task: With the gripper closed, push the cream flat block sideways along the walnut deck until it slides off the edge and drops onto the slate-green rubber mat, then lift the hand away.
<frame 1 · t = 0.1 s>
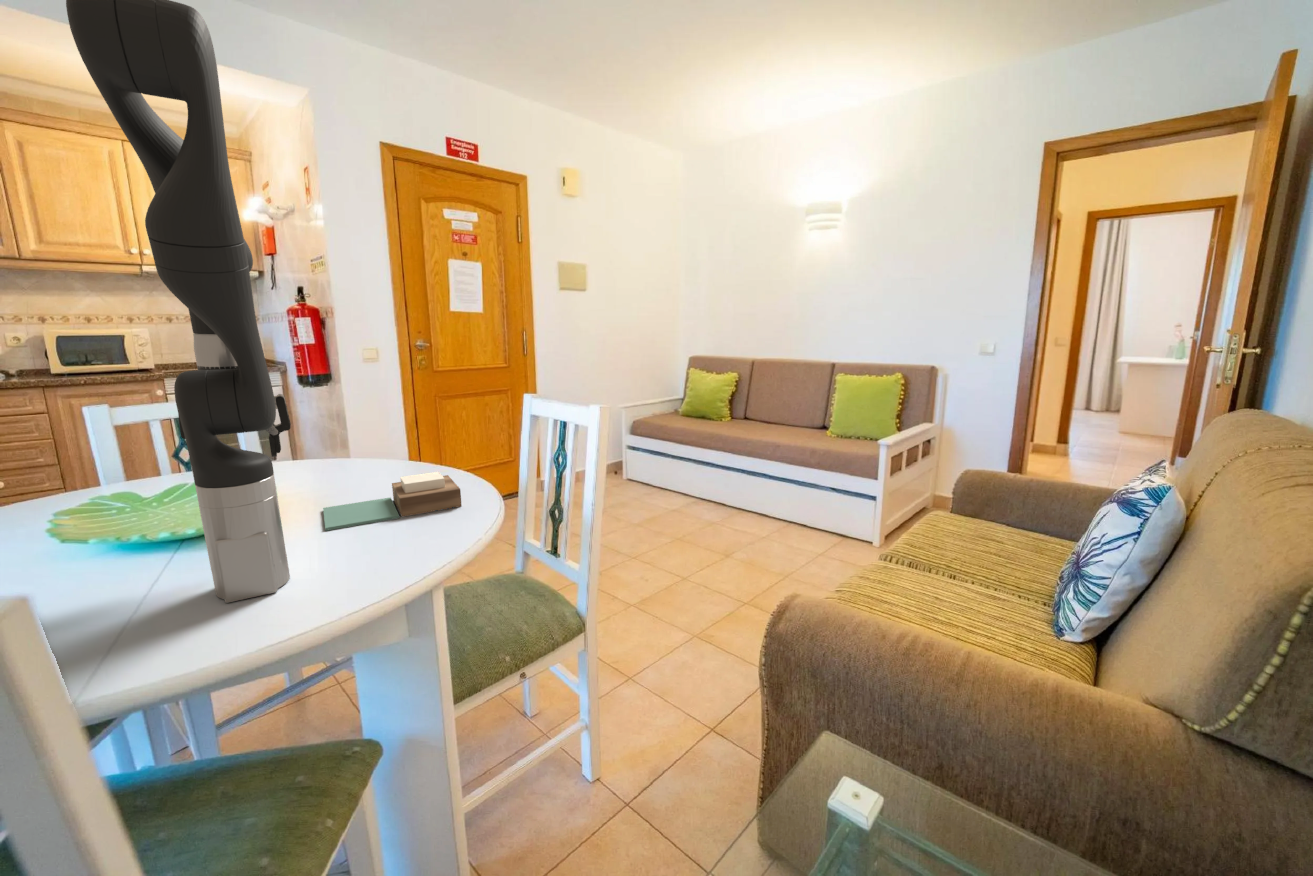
hand: (243, 458, 90), 17 cm above the table, tool pointing down, fingers open, 8 cm apart
cream flat block: (423, 486, 117), point 4 cm above the table, touching deck
deck: (427, 503, 119), on the table
mat: (360, 514, 112), on the table
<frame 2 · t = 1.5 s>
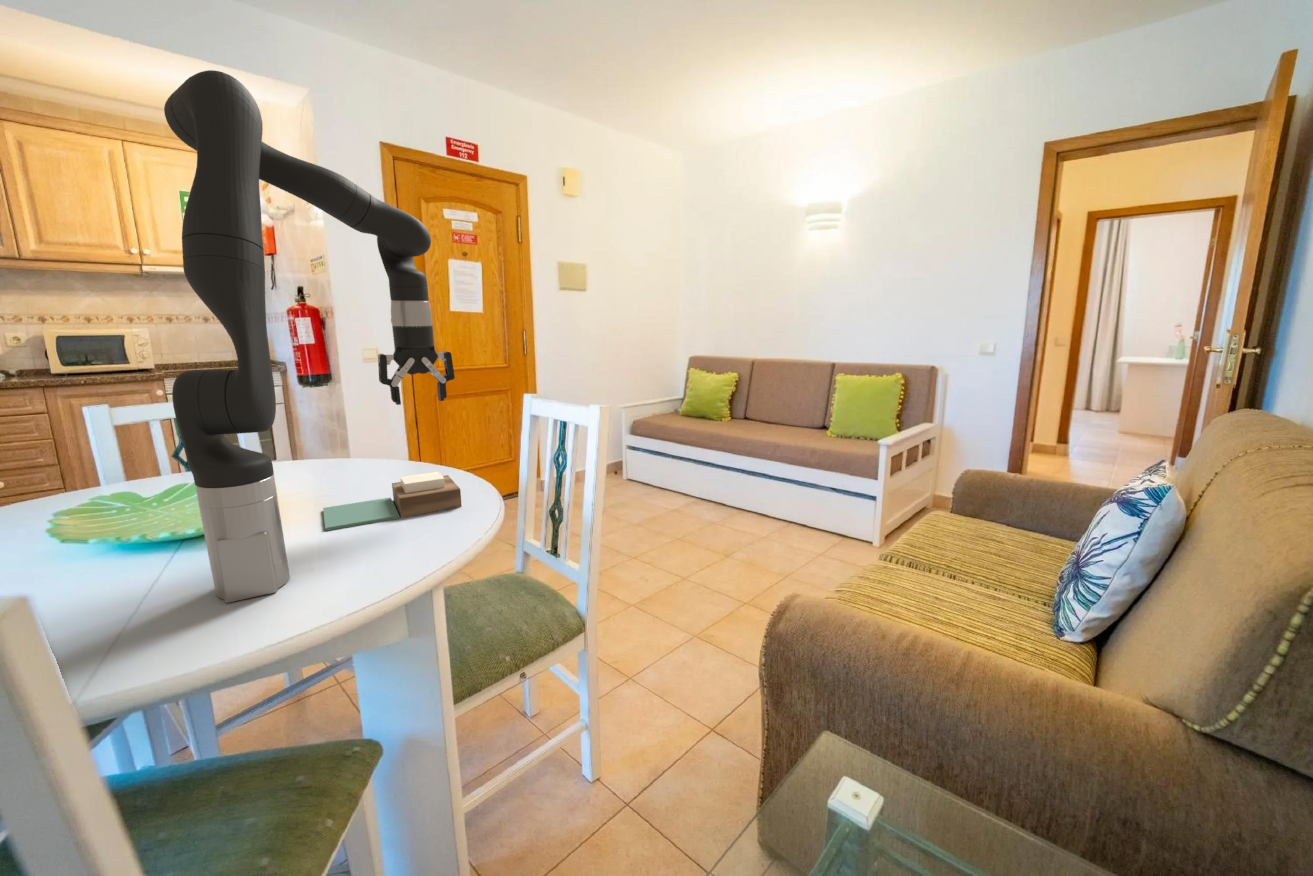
hand: (420, 402, 113), 23 cm above the table, tool pointing down, fingers open, 8 cm apart
nothing on the table moved.
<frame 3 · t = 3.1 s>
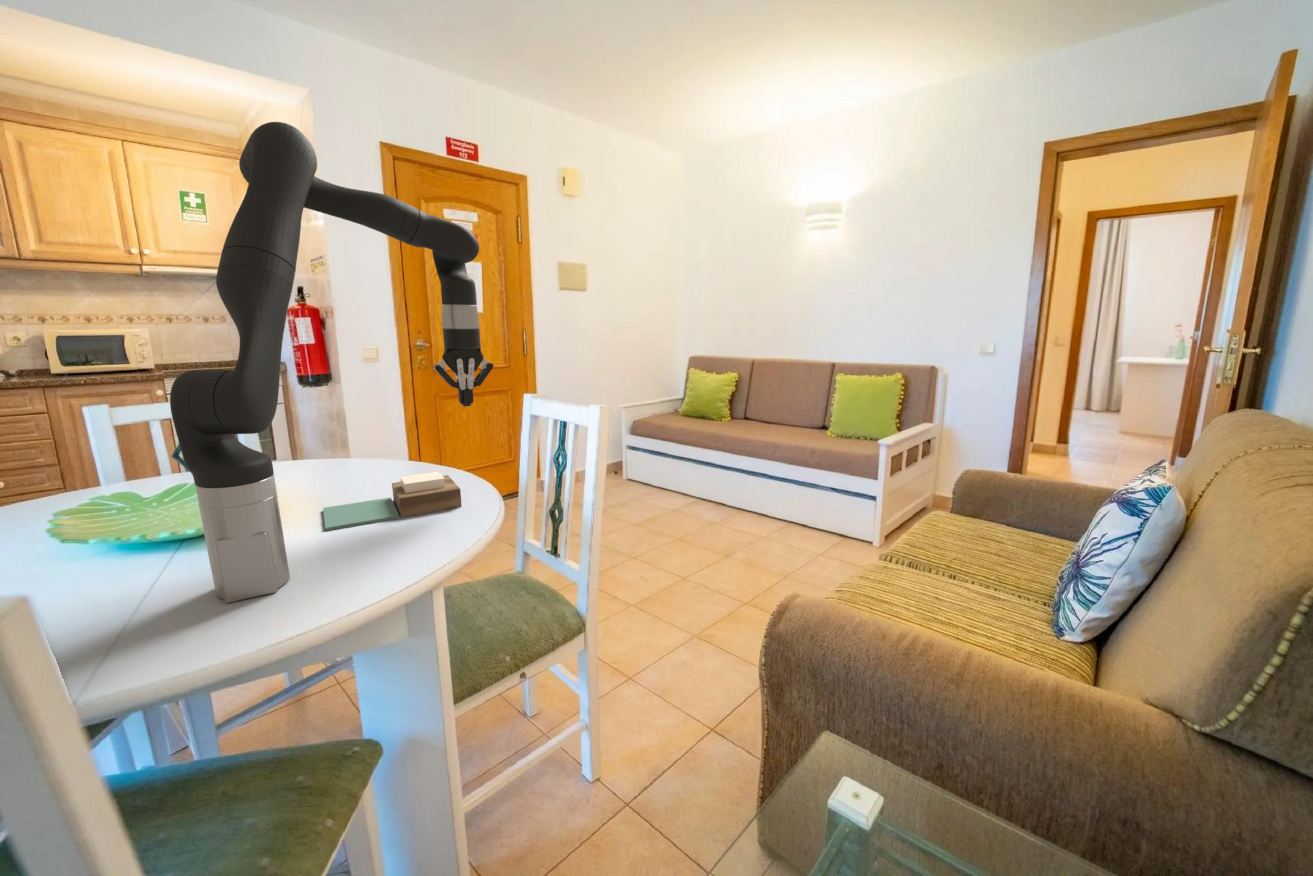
hand: (466, 405, 119), 21 cm above the table, tool pointing down, fingers closed
nothing on the table moved.
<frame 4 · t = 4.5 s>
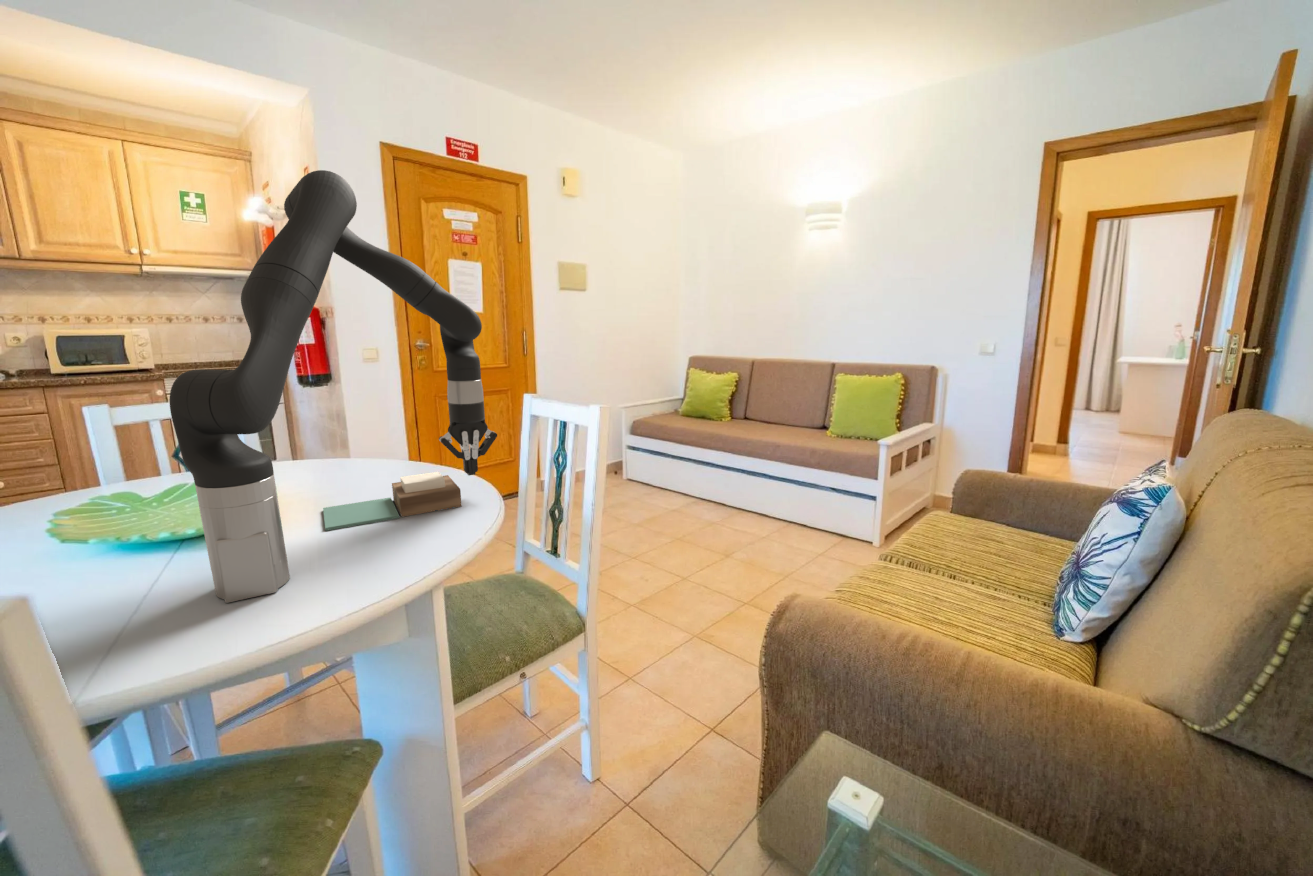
hand: (471, 474, 123), 5 cm above the table, tool pointing down, fingers closed
nothing on the table moved.
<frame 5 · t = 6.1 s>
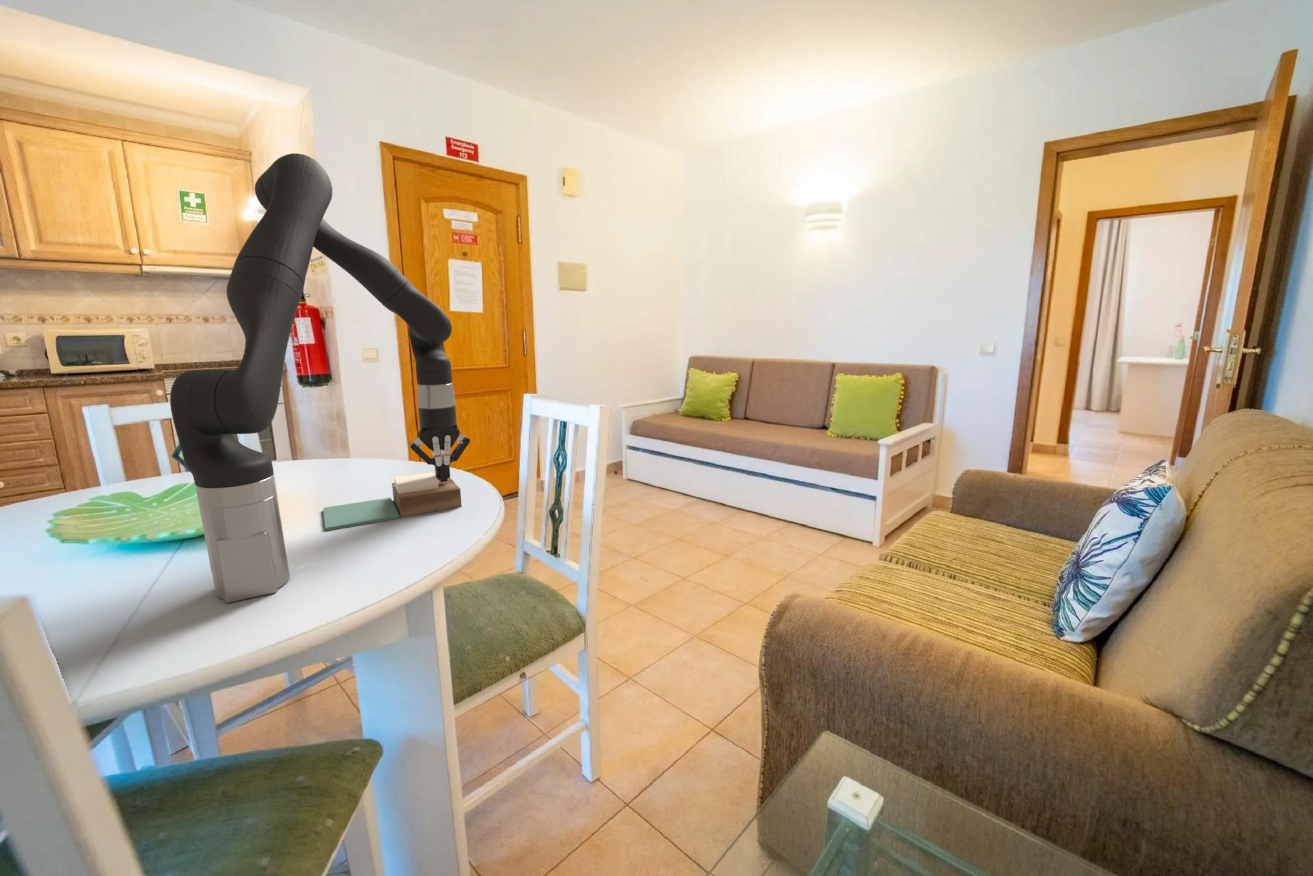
hand: (443, 480, 119), 5 cm above the table, tool pointing down, fingers closed
cream flat block: (416, 487, 117), point 4 cm above the table, touching deck, gripper
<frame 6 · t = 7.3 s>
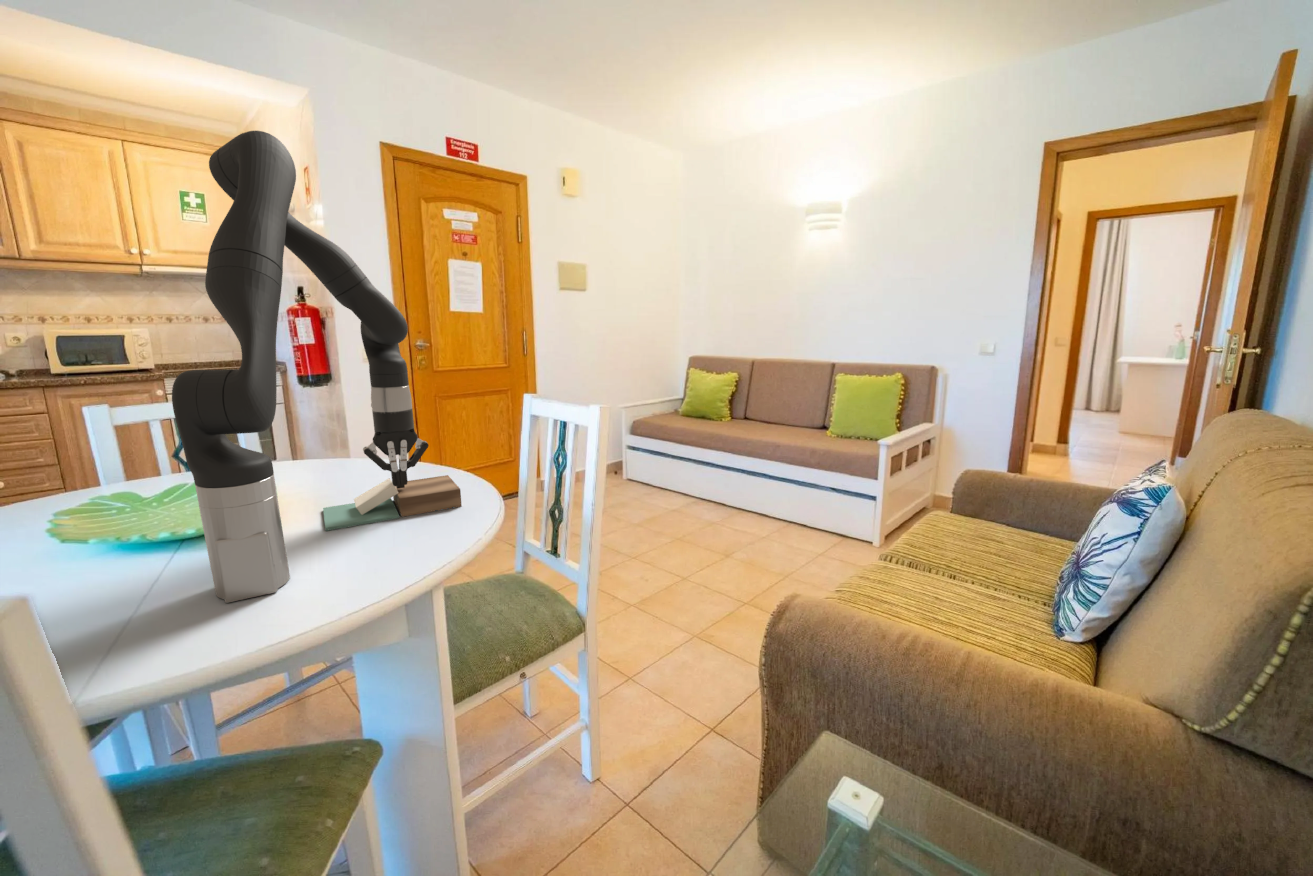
hand: (400, 487, 115), 5 cm above the table, tool pointing down, fingers closed
cream flat block: (378, 499, 114), point 2 cm above the table, tilted 26°, touching deck
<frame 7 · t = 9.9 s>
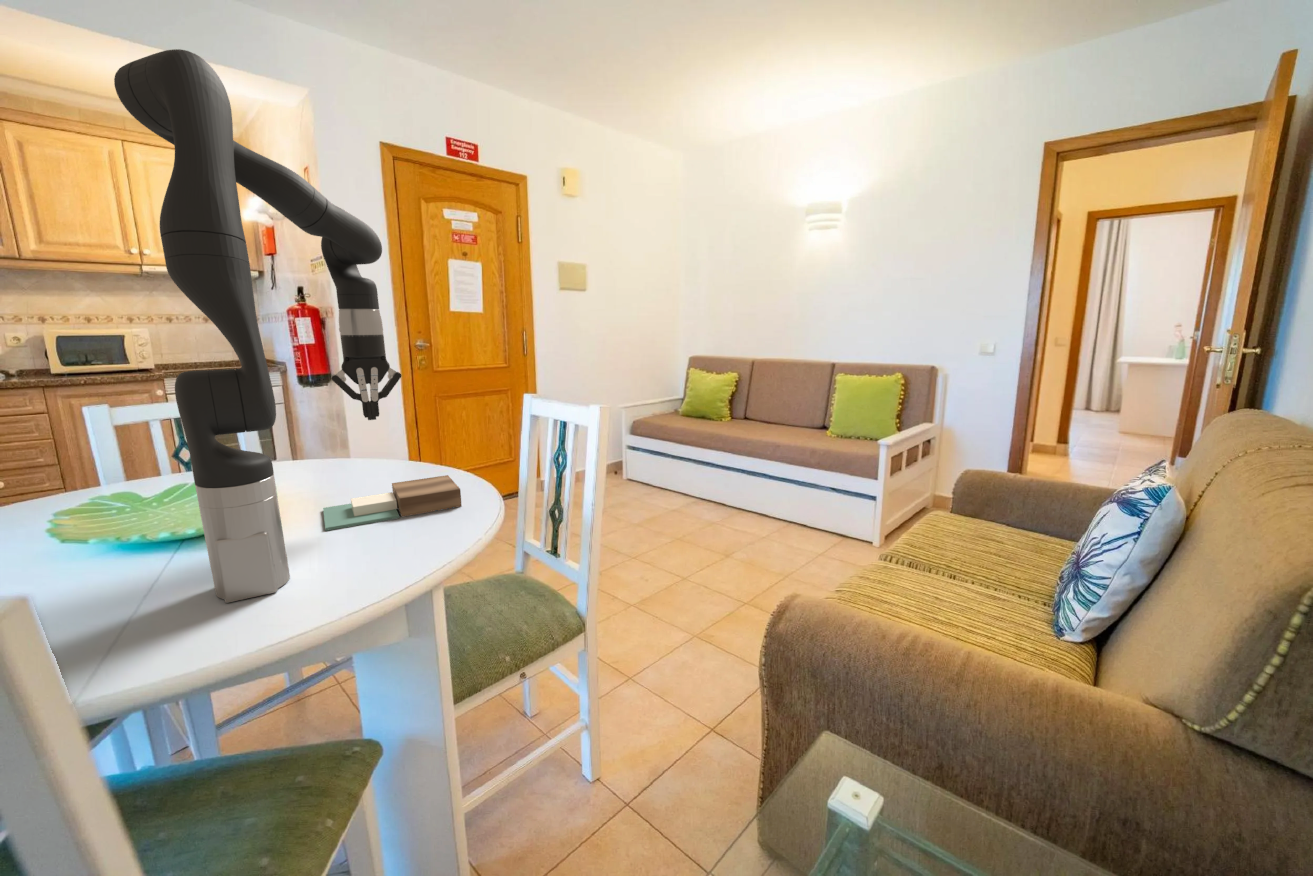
hand: (372, 419, 109), 20 cm above the table, tool pointing down, fingers closed
cream flat block: (374, 508, 113), point 1 cm above the table, touching mat
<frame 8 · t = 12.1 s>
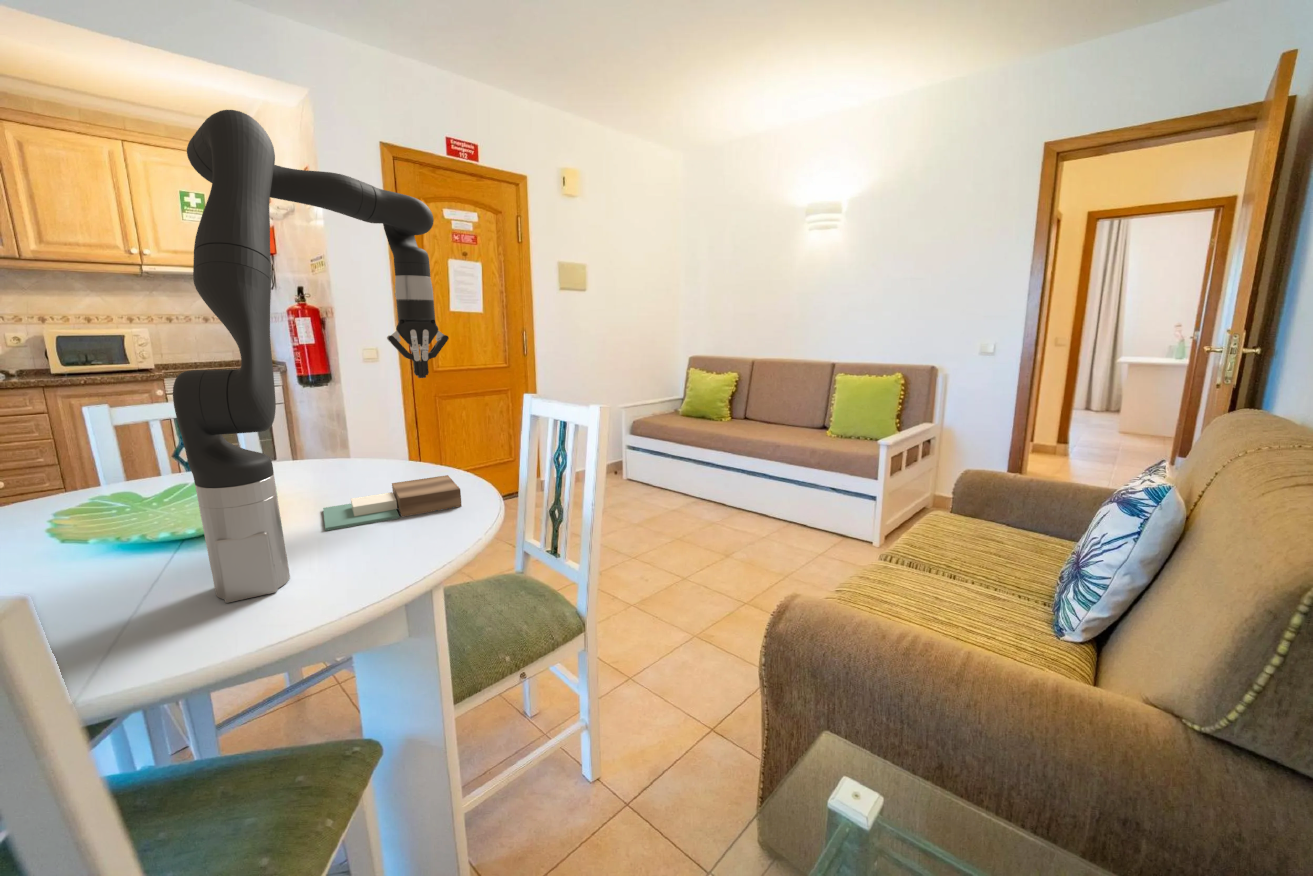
hand: (421, 377, 120), 27 cm above the table, tool pointing down, fingers closed
nothing on the table moved.
at the end: cream flat block inside the target area (3.7 cm from its centre), point 0.6 cm above the table; cream flat block touching mat; the gripper is holding nothing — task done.
